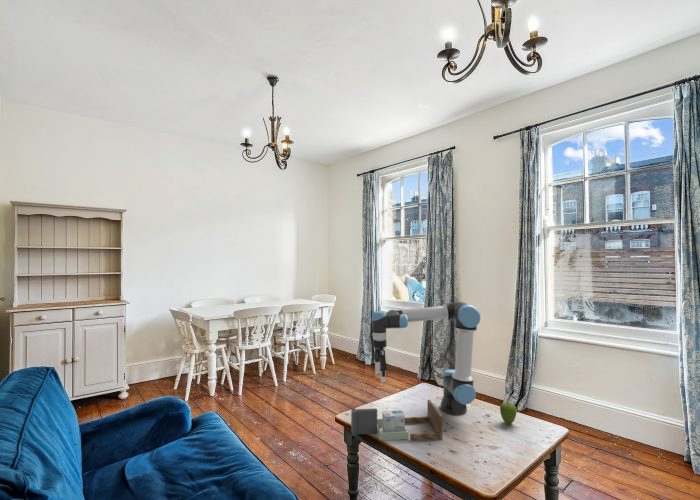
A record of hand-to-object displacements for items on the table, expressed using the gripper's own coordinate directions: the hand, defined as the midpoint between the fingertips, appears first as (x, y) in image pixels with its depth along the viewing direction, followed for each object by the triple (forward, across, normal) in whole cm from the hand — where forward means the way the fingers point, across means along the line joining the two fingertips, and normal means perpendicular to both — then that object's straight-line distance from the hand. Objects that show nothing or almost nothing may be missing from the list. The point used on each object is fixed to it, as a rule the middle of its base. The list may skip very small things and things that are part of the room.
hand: (380, 377), depth 200 cm
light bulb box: (+24, +14, +3) cm, 28 cm away
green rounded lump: (+26, +12, +68) cm, 74 cm away
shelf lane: (+25, +13, +18) cm, 33 cm away
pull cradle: (+24, +12, -5) cm, 27 cm away
